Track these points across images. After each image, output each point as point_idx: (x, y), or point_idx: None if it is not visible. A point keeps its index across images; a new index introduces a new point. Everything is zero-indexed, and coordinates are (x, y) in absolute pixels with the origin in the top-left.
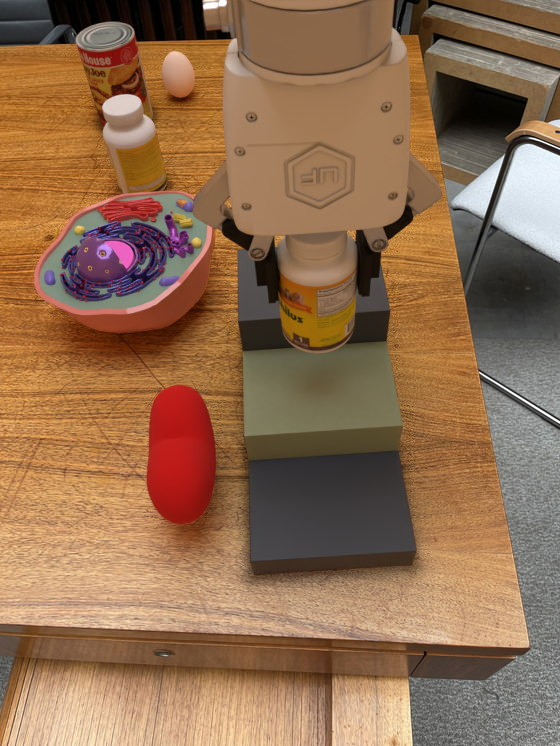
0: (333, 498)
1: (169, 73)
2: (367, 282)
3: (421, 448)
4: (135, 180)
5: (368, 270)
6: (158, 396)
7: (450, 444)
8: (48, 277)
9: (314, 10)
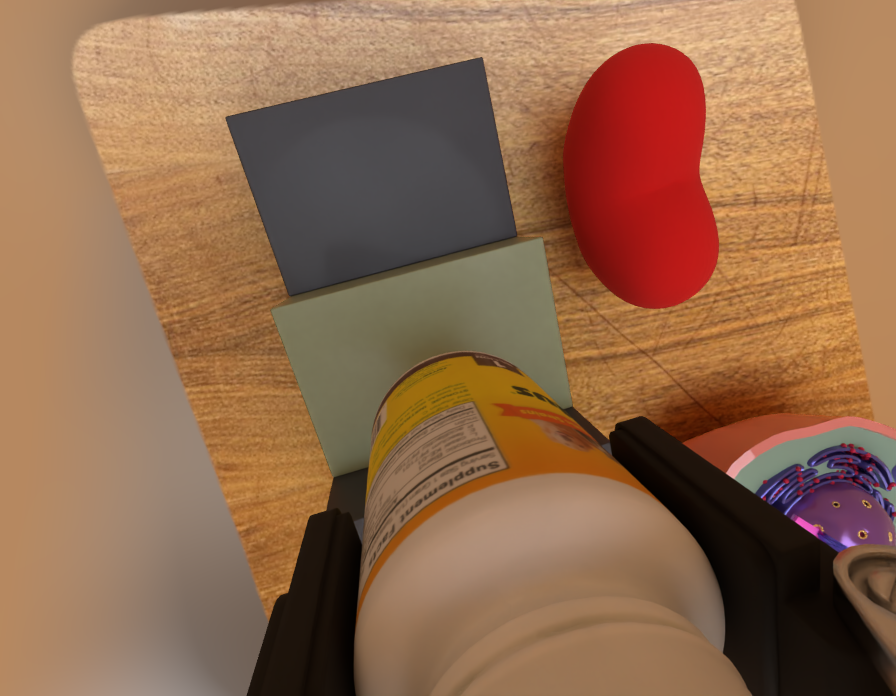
0: (375, 190)
1: None
2: (309, 562)
3: (267, 329)
4: None
5: (294, 620)
6: (715, 262)
7: (225, 343)
8: None
9: None
